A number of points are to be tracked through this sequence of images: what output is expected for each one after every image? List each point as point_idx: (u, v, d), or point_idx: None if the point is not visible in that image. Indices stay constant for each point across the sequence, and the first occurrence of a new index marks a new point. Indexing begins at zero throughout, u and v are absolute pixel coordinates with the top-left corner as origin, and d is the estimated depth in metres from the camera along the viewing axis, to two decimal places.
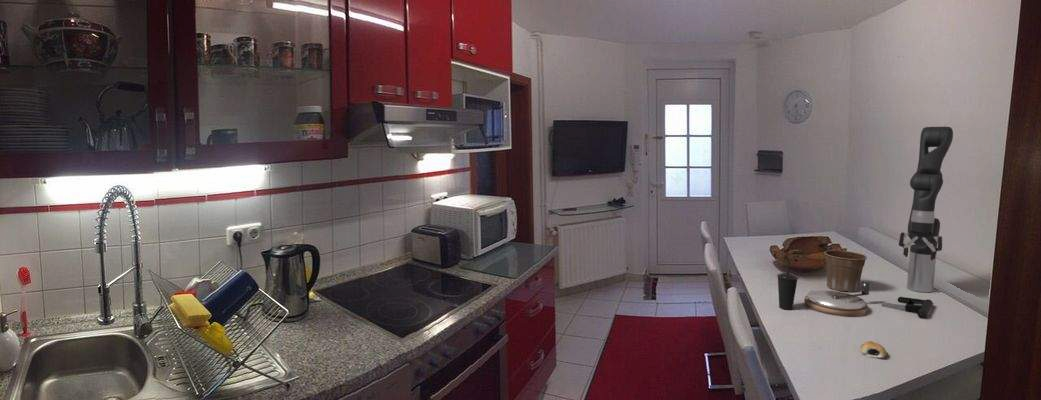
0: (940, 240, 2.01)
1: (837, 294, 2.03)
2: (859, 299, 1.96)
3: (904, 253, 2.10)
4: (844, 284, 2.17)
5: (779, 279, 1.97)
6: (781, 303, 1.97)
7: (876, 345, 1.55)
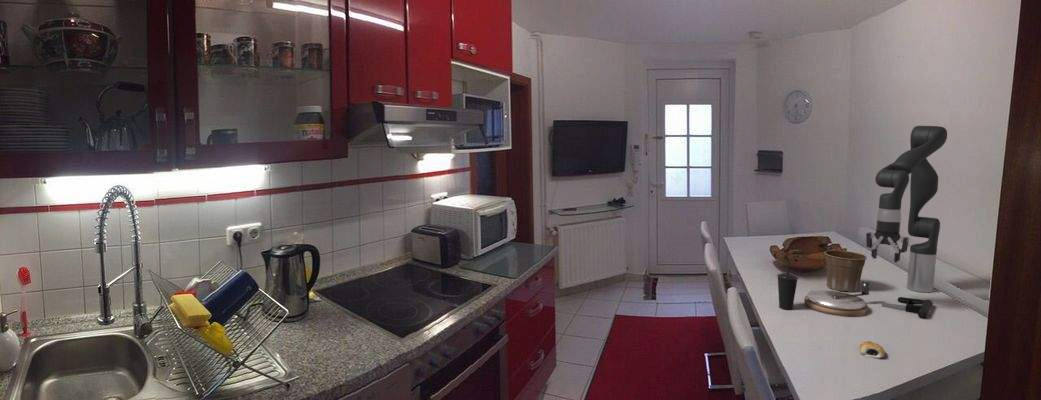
0: None
1: (837, 294, 2.03)
2: (859, 299, 1.96)
3: None
4: (844, 284, 2.17)
5: (779, 279, 1.97)
6: (781, 303, 1.97)
7: (875, 345, 1.55)
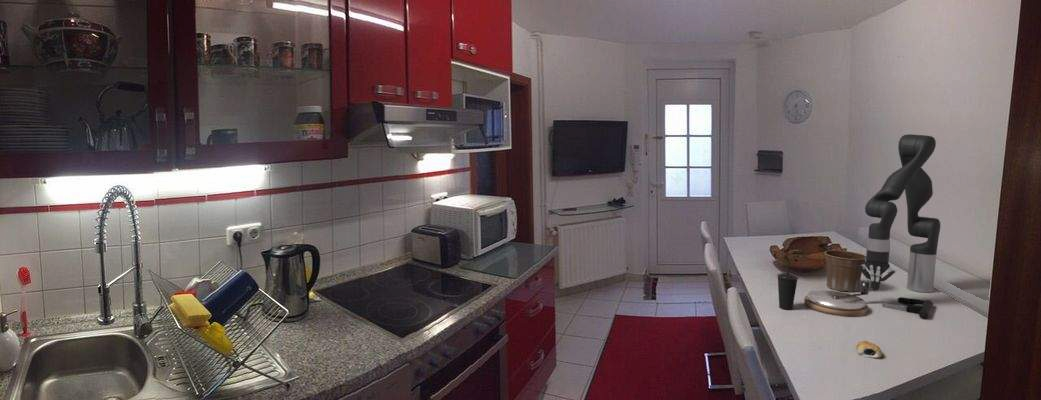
0: None
1: (837, 294, 2.03)
2: (859, 299, 1.96)
3: None
4: (844, 284, 2.17)
5: (779, 279, 1.97)
6: (781, 303, 1.97)
7: (872, 345, 1.56)
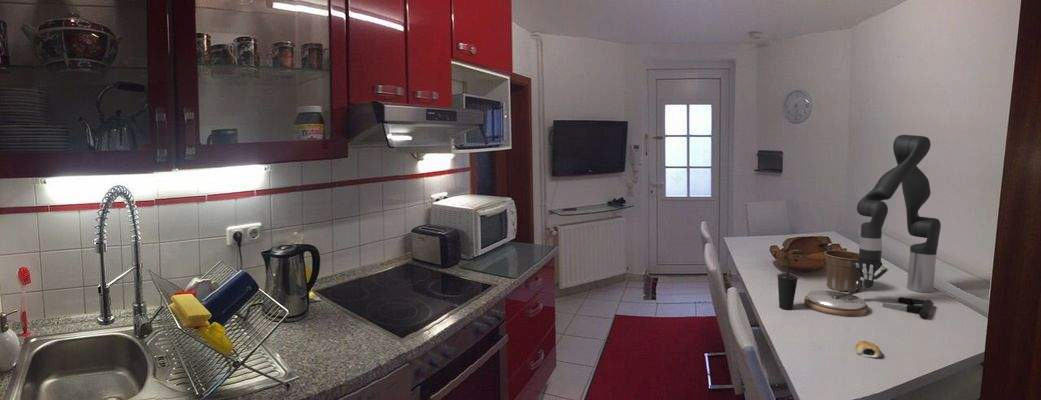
0: None
1: (834, 294, 2.03)
2: (857, 298, 1.98)
3: None
4: (844, 284, 2.17)
5: (779, 279, 1.97)
6: (781, 303, 1.97)
7: (871, 345, 1.56)
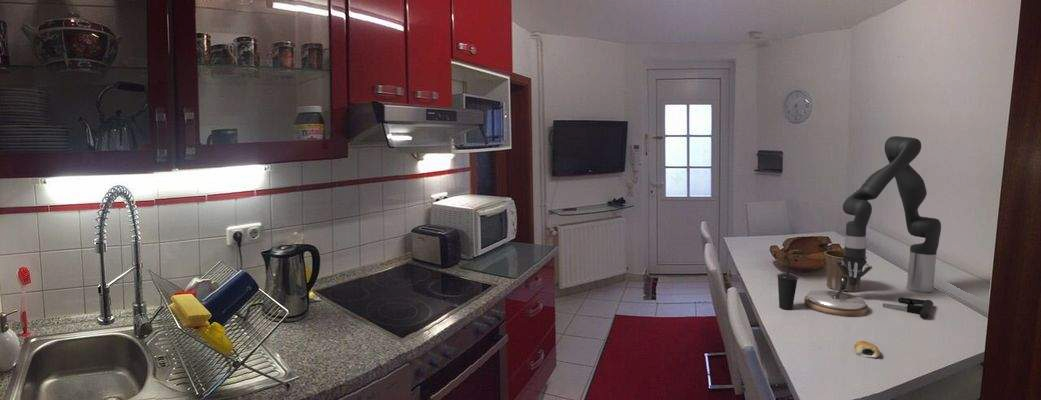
0: None
1: (828, 293, 2.04)
2: (850, 295, 2.01)
3: None
4: None
5: (779, 279, 1.97)
6: (781, 303, 1.97)
7: (870, 345, 1.56)
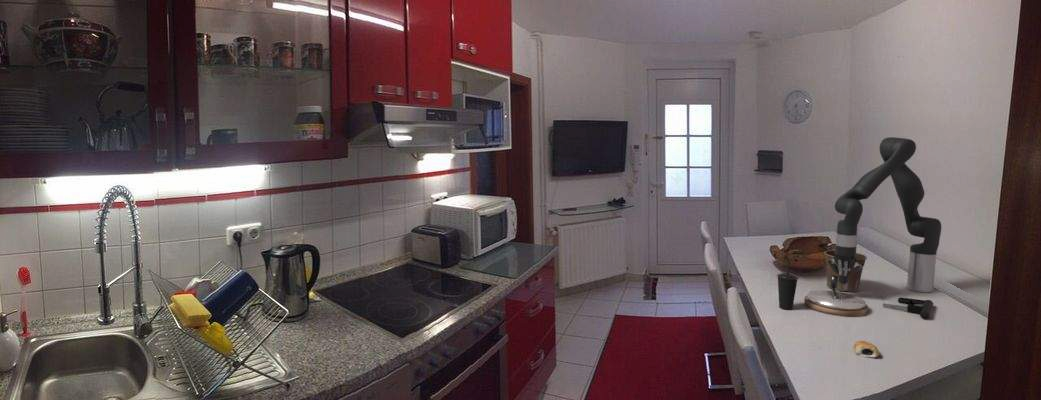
0: None
1: (825, 293, 2.04)
2: (845, 294, 2.03)
3: None
4: (844, 284, 2.17)
5: (779, 279, 1.97)
6: (781, 303, 1.97)
7: (869, 344, 1.56)
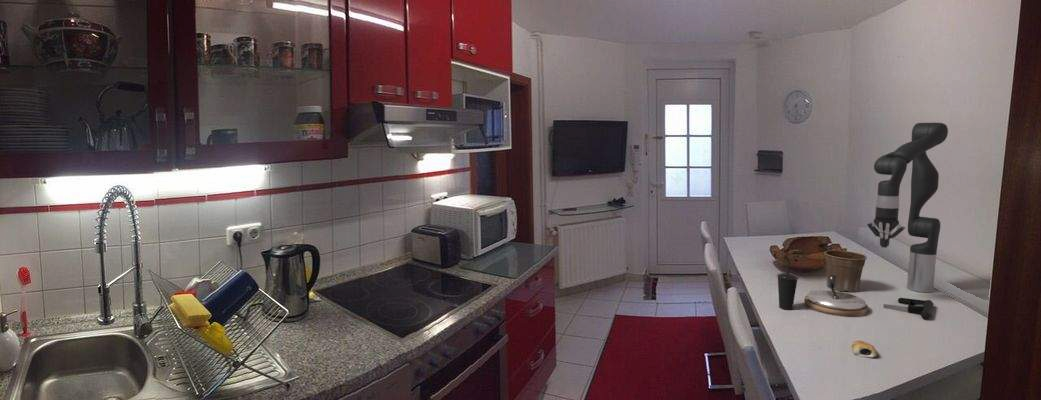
0: None
1: (824, 293, 2.04)
2: (844, 293, 2.03)
3: None
4: (844, 284, 2.17)
5: (779, 279, 1.97)
6: (781, 303, 1.97)
7: (867, 344, 1.56)
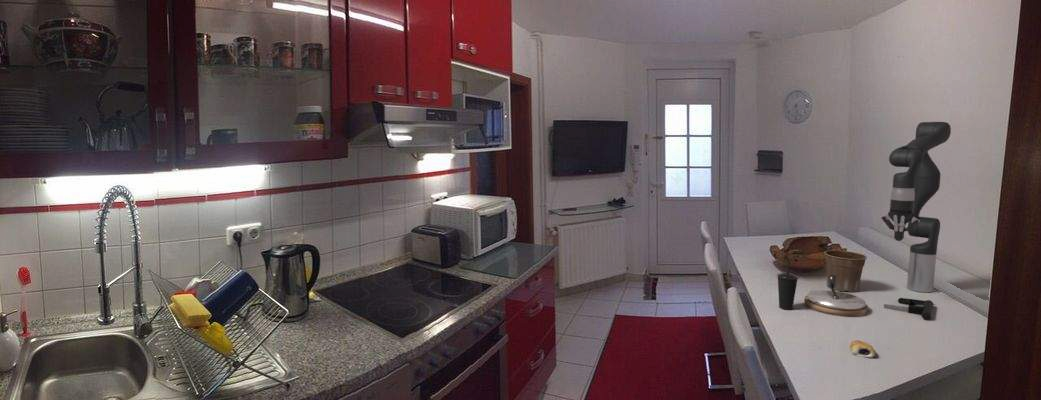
0: None
1: (824, 293, 2.04)
2: (844, 293, 2.03)
3: None
4: (844, 284, 2.17)
5: (779, 279, 1.97)
6: (781, 303, 1.97)
7: (865, 344, 1.56)
